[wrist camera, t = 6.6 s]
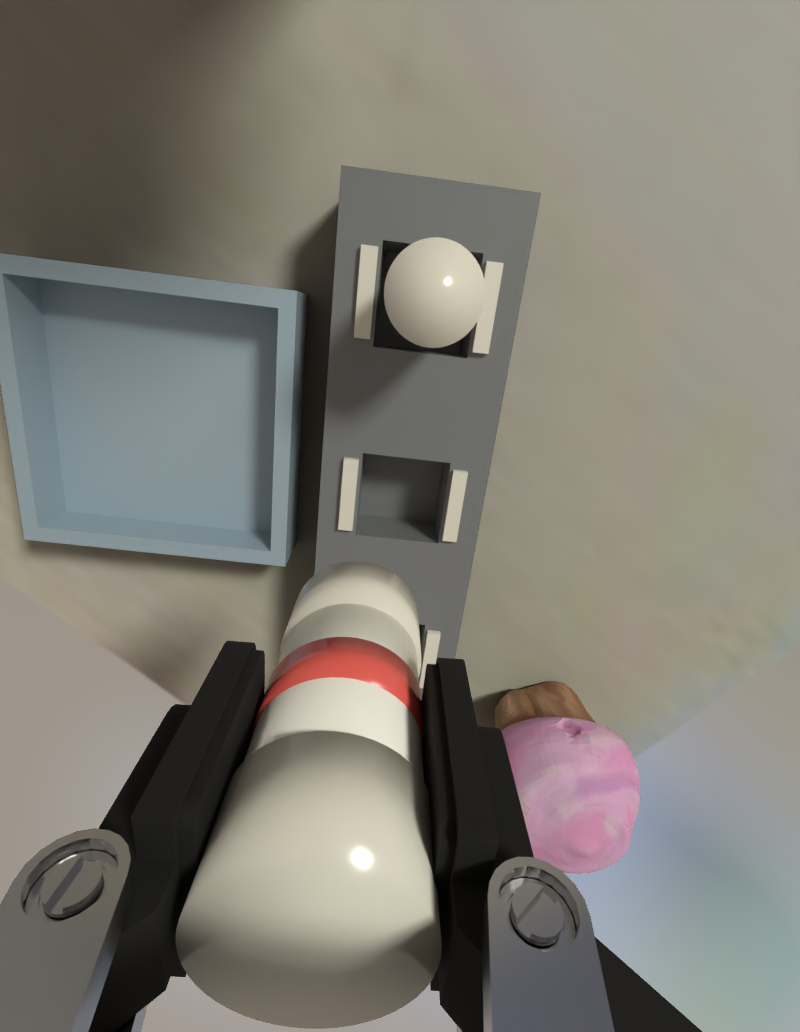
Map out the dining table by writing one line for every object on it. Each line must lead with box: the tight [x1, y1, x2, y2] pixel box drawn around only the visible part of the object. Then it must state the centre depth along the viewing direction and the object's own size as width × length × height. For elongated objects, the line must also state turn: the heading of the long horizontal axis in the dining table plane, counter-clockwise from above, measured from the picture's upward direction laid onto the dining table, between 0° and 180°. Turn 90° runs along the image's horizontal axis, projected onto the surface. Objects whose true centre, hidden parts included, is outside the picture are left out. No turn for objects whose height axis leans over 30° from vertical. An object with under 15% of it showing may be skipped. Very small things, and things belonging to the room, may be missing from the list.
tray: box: [0, 253, 308, 567], centre depth 26 cm, size 14×14×3 cm
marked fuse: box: [176, 561, 442, 1028], centre depth 10 cm, size 3×3×8 cm
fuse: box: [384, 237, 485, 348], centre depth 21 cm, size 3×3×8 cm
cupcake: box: [495, 681, 640, 874], centre depth 30 cm, size 9×9×10 cm
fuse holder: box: [314, 165, 541, 696], centre depth 27 cm, size 27×8×4 cm, turn 173°
